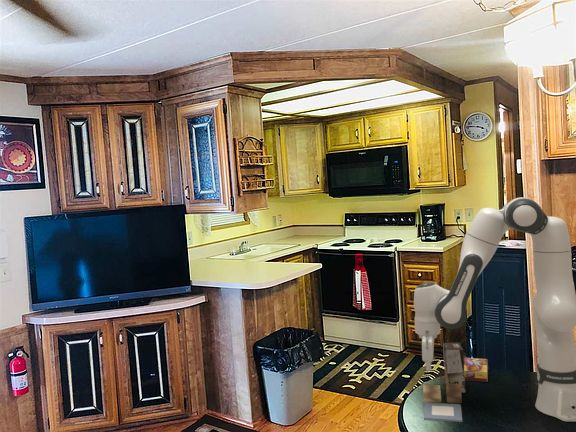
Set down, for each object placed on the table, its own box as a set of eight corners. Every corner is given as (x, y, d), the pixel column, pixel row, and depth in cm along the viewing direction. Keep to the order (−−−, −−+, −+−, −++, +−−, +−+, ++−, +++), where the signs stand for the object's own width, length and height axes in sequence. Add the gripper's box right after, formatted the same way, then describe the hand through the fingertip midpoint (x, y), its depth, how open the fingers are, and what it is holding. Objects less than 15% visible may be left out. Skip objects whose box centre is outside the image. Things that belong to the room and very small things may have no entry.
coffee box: (466, 392, 179) (463, 349, 178) (448, 392, 180) (445, 349, 180) (462, 383, 188) (459, 341, 187) (445, 383, 189) (442, 342, 189)
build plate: (460, 406, 169) (460, 404, 169) (462, 422, 157) (462, 419, 157) (424, 404, 172) (424, 402, 172) (423, 419, 161) (423, 417, 161)
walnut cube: (461, 397, 176) (460, 383, 175) (461, 403, 171) (461, 389, 171) (446, 396, 177) (445, 383, 177) (447, 402, 172) (446, 388, 172)
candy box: (487, 383, 187) (488, 368, 201) (486, 372, 186) (487, 358, 200) (463, 381, 190) (465, 366, 204) (462, 370, 190) (464, 356, 204)
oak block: (440, 396, 178) (440, 385, 178) (441, 403, 172) (440, 391, 172) (423, 395, 180) (423, 384, 180) (423, 402, 174) (423, 391, 174)
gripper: (436, 336, 164) (438, 376, 165) (436, 320, 184) (437, 356, 184) (417, 335, 166) (418, 375, 167) (419, 320, 186) (420, 355, 186)
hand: (428, 365), depth 176 cm, fingers open, 8 cm apart
